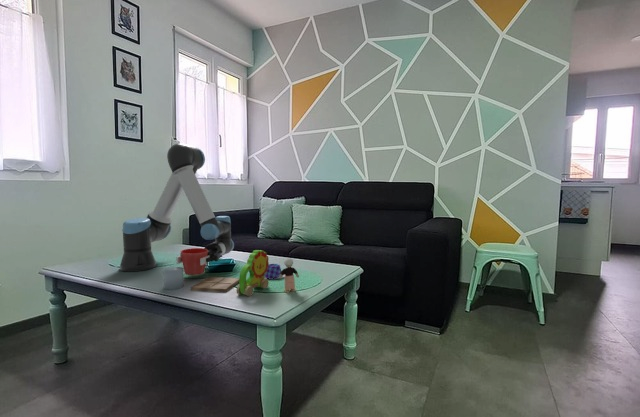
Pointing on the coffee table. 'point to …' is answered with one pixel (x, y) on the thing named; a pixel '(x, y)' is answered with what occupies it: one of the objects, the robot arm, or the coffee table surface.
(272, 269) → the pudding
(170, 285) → the grey rounded cylinder
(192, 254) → the flower pot
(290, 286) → the grandmother figurine
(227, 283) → the trivet
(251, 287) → the toy lion
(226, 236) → the robot arm
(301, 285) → the coffee table surface
